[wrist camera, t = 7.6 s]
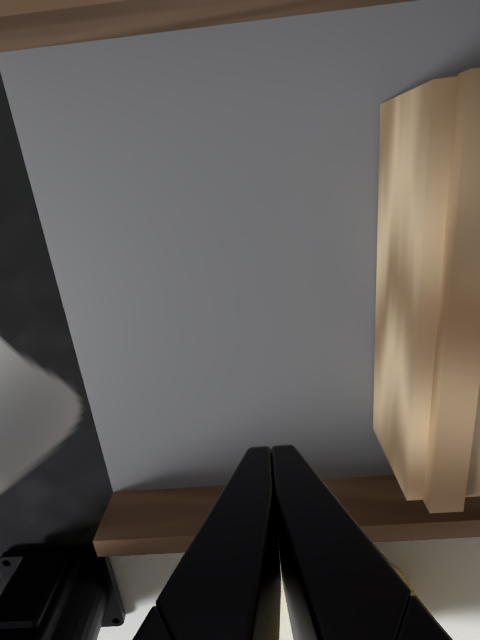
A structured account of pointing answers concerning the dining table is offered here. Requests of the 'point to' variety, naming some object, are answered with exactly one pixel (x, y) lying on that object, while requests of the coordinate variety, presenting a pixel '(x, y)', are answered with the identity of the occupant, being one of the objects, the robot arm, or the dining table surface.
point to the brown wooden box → (430, 291)
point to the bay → (224, 235)
